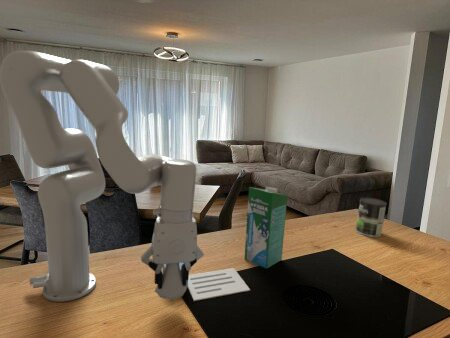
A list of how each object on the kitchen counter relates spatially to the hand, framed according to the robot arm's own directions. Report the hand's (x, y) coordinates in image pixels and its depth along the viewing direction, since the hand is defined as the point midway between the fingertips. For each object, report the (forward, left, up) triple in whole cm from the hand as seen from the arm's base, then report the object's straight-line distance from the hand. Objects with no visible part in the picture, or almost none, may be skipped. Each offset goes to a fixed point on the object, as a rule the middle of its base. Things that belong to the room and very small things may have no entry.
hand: (171, 283), depth 72 cm
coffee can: (+90, +25, -7) cm, 94 cm away
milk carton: (+34, +16, -7) cm, 38 cm away
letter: (+14, +7, -7) cm, 17 cm away
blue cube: (+3, +10, -7) cm, 13 cm away
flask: (0, 0, -2) cm, 2 cm away
